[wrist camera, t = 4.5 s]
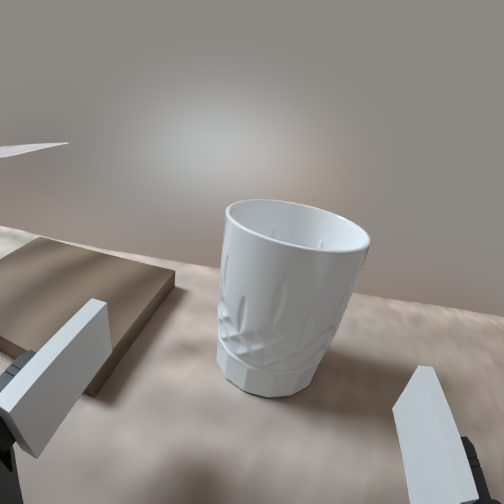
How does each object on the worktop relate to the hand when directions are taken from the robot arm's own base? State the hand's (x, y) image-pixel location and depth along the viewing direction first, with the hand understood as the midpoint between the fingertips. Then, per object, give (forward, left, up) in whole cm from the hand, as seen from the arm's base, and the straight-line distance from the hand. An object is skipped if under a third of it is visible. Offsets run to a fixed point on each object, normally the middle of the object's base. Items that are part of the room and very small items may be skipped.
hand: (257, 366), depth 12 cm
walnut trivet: (+16, -7, -6) cm, 19 cm away
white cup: (-1, -7, -6) cm, 9 cm away
